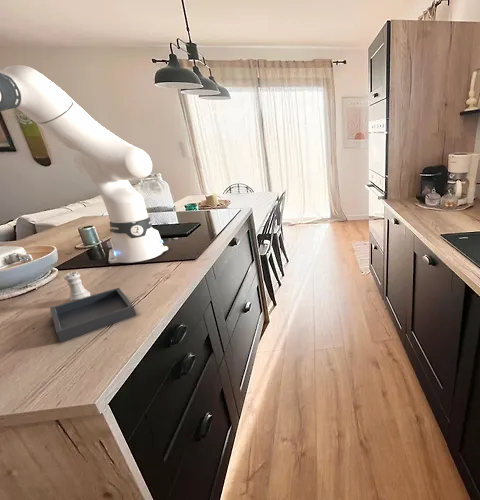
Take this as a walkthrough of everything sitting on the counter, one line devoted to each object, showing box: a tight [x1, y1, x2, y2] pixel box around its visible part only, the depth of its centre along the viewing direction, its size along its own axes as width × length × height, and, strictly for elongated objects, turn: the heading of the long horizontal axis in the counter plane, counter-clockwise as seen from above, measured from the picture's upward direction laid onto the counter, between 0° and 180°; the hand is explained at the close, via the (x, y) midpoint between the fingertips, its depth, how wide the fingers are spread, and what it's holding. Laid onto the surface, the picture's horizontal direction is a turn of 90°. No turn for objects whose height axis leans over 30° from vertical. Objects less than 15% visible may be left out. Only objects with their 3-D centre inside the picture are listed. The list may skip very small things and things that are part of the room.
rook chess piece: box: [64, 271, 93, 302], centre depth 76 cm, size 4×4×8 cm
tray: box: [49, 287, 137, 343], centre depth 70 cm, size 15×14×3 cm
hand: (12, 265), depth 72 cm, fingers open, 8 cm apart
